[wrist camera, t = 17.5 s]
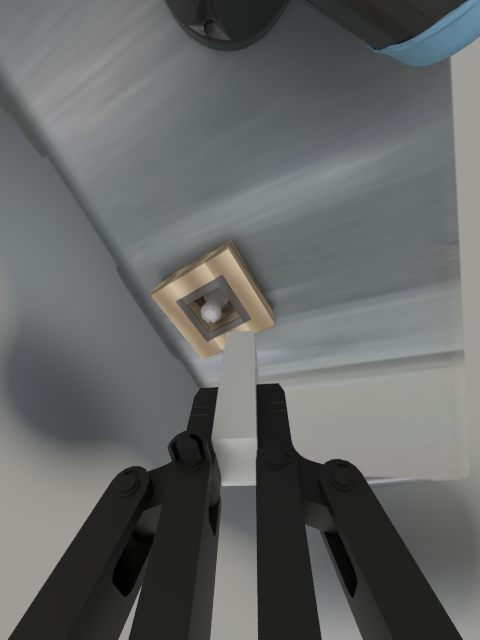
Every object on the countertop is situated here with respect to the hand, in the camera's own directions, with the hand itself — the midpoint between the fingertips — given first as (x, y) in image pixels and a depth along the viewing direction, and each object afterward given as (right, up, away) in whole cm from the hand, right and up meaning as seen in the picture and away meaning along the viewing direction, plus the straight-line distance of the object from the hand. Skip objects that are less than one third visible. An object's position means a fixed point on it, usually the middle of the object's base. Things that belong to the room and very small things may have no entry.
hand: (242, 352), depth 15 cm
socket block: (-4, +6, +33) cm, 34 cm away
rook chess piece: (-4, +7, +33) cm, 34 cm away
